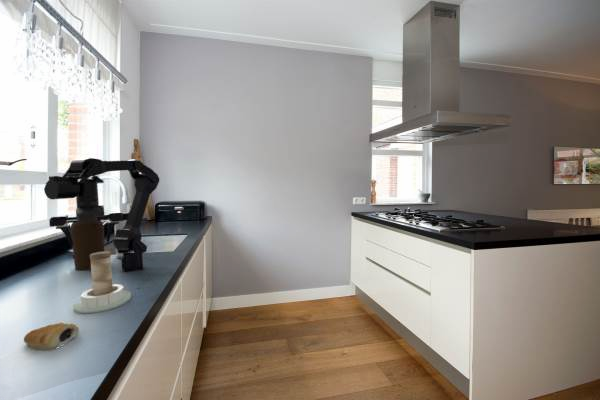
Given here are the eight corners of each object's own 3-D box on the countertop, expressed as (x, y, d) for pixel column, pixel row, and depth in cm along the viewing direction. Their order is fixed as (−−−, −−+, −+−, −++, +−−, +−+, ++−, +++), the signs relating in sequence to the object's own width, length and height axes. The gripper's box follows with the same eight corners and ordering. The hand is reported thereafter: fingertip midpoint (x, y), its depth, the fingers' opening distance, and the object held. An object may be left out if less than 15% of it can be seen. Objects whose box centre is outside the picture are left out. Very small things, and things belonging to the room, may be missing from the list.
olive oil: (112, 262, 116) (108, 202, 114) (95, 270, 106) (90, 204, 104) (85, 262, 116) (81, 203, 114) (66, 271, 105) (60, 205, 103)
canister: (108, 294, 81) (105, 250, 80) (117, 297, 78) (114, 252, 77) (89, 301, 76) (86, 254, 75) (98, 304, 74) (95, 256, 73)
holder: (129, 289, 86) (128, 278, 86) (132, 304, 76) (131, 292, 75) (76, 300, 79) (75, 288, 79) (71, 318, 68) (70, 305, 68)
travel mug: (115, 259, 120) (112, 213, 118) (117, 256, 126) (114, 212, 124) (132, 257, 123) (129, 212, 121) (133, 254, 128) (130, 211, 127)
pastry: (12, 350, 56) (10, 332, 56) (46, 332, 63) (45, 316, 63) (53, 353, 55) (52, 334, 55) (83, 334, 62) (82, 318, 61)
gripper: (43, 200, 78) (48, 254, 79) (122, 197, 89) (125, 245, 90) (50, 198, 87) (54, 247, 88) (121, 195, 98) (123, 239, 99)
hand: (90, 244), depth 91 cm, fingers open, 9 cm apart
